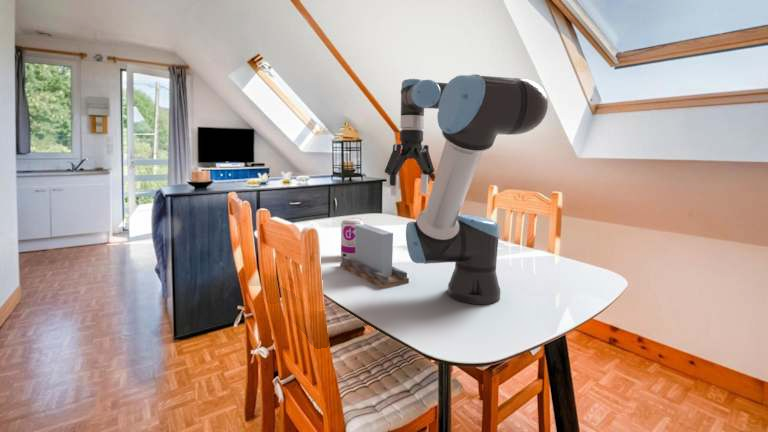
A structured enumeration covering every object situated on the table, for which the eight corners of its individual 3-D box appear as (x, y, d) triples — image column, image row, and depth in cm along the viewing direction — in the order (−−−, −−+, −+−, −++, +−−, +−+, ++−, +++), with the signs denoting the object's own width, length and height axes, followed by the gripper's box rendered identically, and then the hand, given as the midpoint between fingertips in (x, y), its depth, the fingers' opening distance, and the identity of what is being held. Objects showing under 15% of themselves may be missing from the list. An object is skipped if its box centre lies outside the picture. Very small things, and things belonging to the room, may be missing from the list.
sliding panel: (391, 275, 131) (393, 233, 128) (381, 277, 128) (382, 234, 126) (364, 263, 143) (365, 224, 141) (355, 264, 141) (355, 225, 138)
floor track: (408, 283, 128) (409, 272, 128) (382, 288, 123) (383, 277, 122) (364, 262, 149) (364, 253, 149) (340, 266, 144) (340, 257, 143)
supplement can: (359, 262, 150) (360, 222, 147) (338, 260, 151) (338, 220, 148) (365, 256, 157) (365, 218, 155) (344, 254, 159) (344, 216, 156)
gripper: (430, 131, 143) (427, 191, 146) (374, 128, 127) (373, 195, 130) (446, 131, 137) (443, 193, 141) (390, 127, 121) (388, 197, 125)
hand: (409, 194), depth 135 cm, fingers open, 13 cm apart
